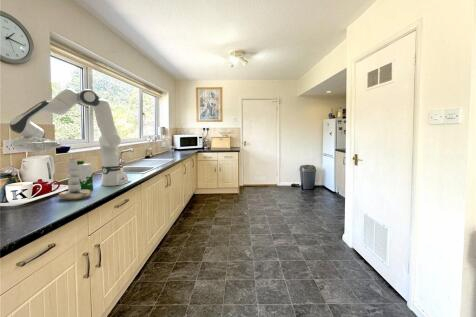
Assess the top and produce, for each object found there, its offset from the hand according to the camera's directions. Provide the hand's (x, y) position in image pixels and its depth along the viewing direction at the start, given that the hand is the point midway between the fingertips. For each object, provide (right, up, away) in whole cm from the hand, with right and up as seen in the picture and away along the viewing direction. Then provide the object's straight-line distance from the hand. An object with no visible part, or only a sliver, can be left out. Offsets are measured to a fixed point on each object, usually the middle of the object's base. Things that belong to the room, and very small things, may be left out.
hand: (51, 145), depth 151 cm
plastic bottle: (+14, -28, +1) cm, 31 cm away
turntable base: (+14, -32, +1) cm, 35 cm away
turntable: (+14, -30, +1) cm, 33 cm away
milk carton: (+7, -30, +22) cm, 38 cm away
